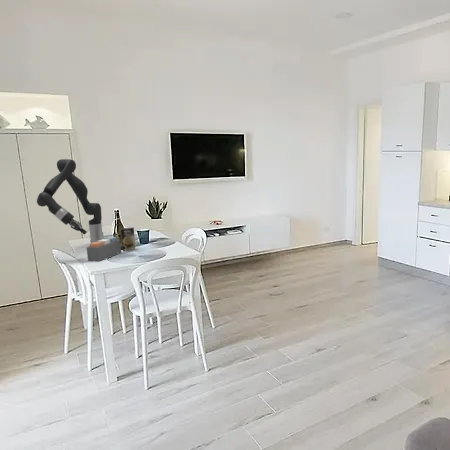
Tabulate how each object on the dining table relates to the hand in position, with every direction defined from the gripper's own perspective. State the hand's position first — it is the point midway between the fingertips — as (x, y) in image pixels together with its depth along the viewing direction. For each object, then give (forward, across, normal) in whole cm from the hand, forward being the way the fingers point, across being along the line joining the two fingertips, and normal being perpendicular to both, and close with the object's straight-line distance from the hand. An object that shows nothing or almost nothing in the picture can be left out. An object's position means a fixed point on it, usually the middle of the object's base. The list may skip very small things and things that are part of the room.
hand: (85, 233), depth 256 cm
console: (+19, +7, +6) cm, 22 cm away
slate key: (+16, +15, -2) cm, 22 cm away
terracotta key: (+11, 0, +3) cm, 12 cm away
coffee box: (+30, +22, -4) cm, 37 cm away
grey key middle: (+14, +7, 0) cm, 15 cm away
